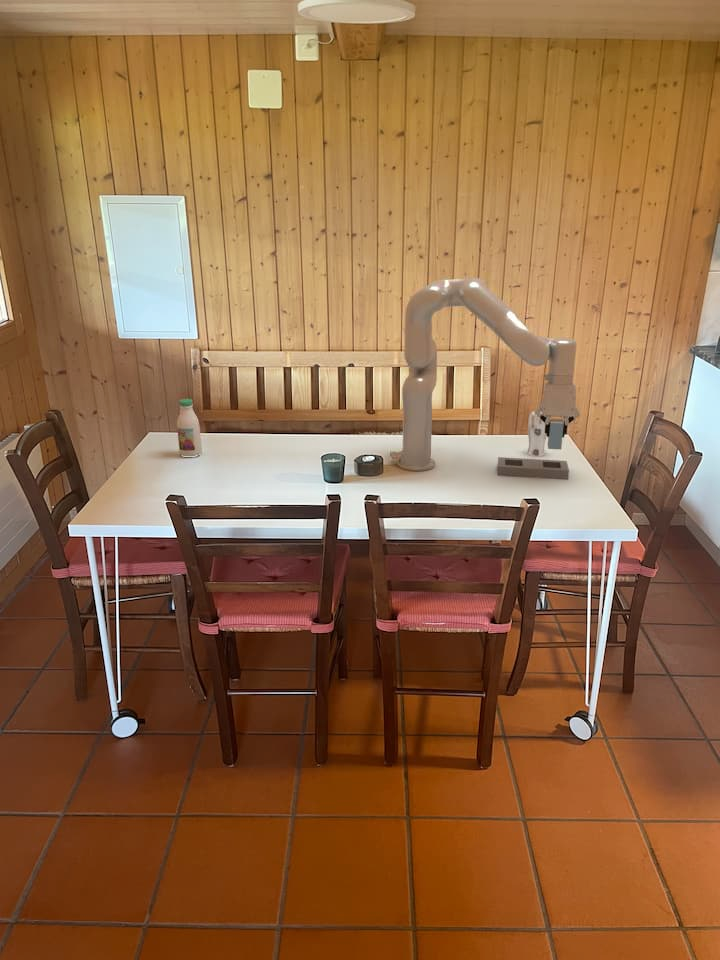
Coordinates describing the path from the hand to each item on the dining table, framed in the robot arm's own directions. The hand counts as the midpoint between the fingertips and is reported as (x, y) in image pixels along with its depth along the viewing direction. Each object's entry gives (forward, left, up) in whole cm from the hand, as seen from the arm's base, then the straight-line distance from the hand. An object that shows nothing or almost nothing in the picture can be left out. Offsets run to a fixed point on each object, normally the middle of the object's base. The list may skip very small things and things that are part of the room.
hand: (555, 435), depth 220 cm
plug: (0, 0, -4) cm, 4 cm away
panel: (-6, 0, -13) cm, 15 cm away
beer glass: (-4, +19, -14) cm, 24 cm away
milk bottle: (-124, -1, -14) cm, 125 cm away
